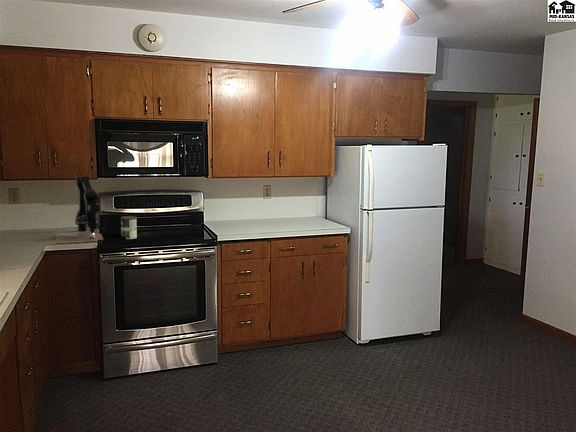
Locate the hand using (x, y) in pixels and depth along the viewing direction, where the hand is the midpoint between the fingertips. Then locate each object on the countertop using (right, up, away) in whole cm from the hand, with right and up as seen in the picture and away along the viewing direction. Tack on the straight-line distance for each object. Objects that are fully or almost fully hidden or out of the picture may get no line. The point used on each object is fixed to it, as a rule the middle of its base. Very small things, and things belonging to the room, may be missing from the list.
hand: (92, 234), depth 326 cm
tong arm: (-8, -2, -1) cm, 8 cm away
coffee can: (+21, -3, +11) cm, 24 cm away
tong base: (-14, -1, +4) cm, 14 cm away
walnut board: (-8, -4, 0) cm, 9 cm away
